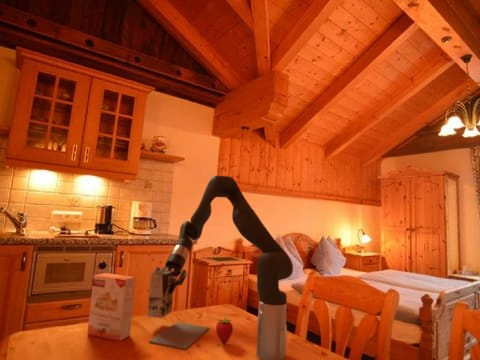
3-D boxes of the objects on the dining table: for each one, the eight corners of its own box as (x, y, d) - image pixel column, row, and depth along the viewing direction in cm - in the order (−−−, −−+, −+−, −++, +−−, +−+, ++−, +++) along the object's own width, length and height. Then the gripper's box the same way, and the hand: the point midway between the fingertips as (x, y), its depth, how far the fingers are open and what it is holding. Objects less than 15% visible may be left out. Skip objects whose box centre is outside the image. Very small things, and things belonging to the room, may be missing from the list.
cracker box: (86, 335, 106) (92, 274, 109) (98, 329, 112) (104, 272, 114) (119, 342, 102) (125, 279, 105) (130, 336, 108) (136, 276, 110)
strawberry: (215, 349, 101) (216, 318, 102) (215, 340, 109) (216, 311, 110) (232, 349, 101) (234, 318, 103) (231, 340, 109) (232, 311, 110)
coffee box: (162, 318, 114) (165, 274, 115) (146, 316, 115) (150, 273, 117) (172, 311, 122) (175, 270, 124) (158, 309, 124) (161, 269, 126)
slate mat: (209, 329, 118) (209, 327, 118) (185, 349, 99) (186, 348, 99) (177, 323, 122) (177, 322, 122) (149, 342, 103) (149, 340, 103)
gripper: (160, 251, 132) (142, 284, 119) (190, 253, 128) (174, 288, 115) (166, 262, 136) (149, 295, 124) (194, 265, 132) (180, 299, 120)
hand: (161, 291), depth 120 cm, fingers closed on coffee box, 7 cm apart
